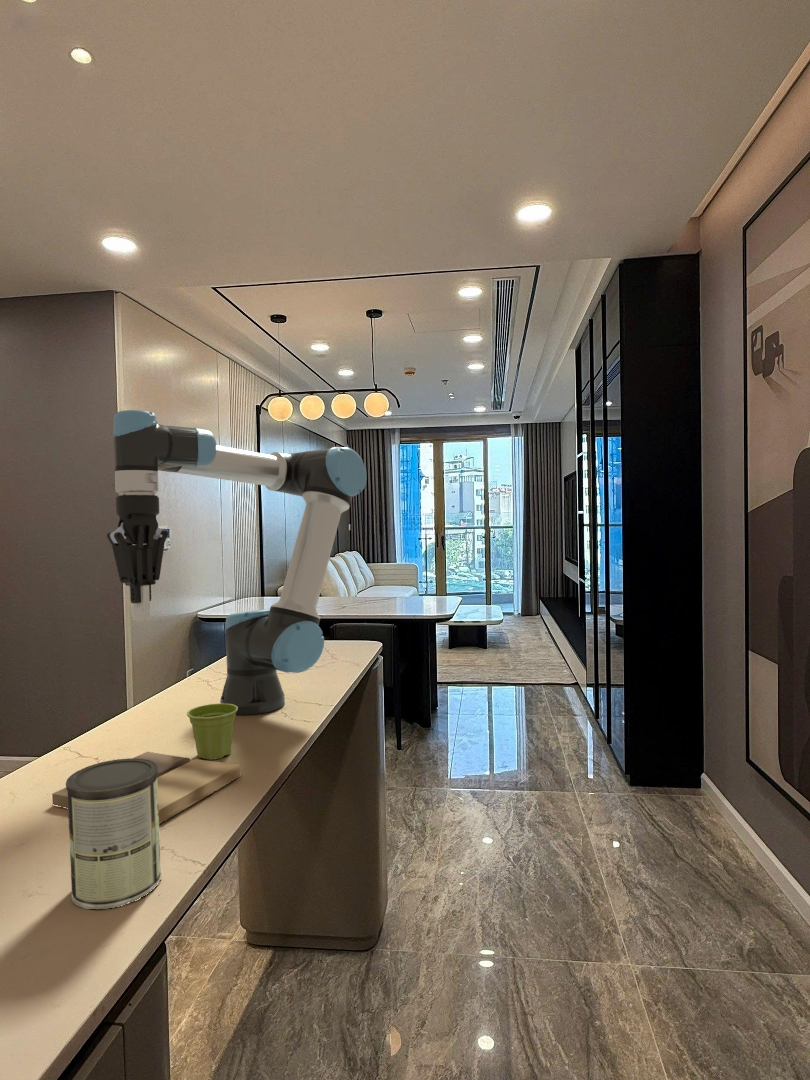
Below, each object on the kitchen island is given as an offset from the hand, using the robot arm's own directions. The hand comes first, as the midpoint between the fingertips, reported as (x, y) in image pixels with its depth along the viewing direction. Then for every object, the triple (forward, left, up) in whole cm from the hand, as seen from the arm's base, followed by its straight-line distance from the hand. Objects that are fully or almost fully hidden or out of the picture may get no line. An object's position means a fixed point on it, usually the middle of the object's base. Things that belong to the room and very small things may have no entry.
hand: (141, 619), depth 124 cm
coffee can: (+35, +30, -27) cm, 53 cm away
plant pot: (-6, +11, -27) cm, 29 cm away
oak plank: (+12, +18, -26) cm, 34 cm away
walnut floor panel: (+12, +7, -26) cm, 30 cm away
